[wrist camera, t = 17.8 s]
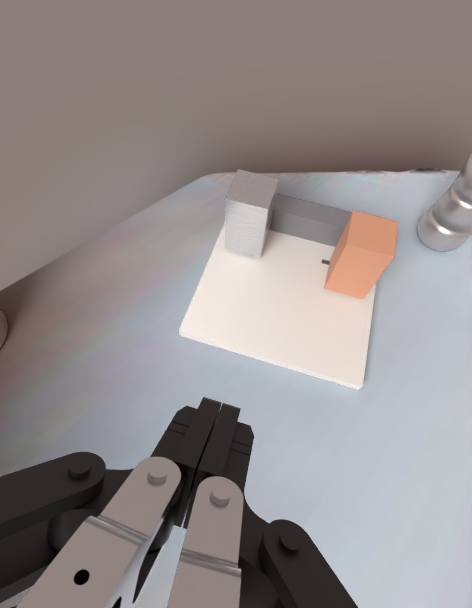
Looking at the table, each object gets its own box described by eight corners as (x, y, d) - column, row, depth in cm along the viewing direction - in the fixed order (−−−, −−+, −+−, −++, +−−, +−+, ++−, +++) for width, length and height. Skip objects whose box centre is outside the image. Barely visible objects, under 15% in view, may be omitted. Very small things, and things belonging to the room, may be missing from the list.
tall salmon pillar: (363, 299, 43) (394, 256, 35) (324, 288, 44) (346, 244, 36) (367, 268, 46) (398, 221, 38) (330, 258, 46) (352, 210, 38)
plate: (358, 389, 40) (376, 376, 35) (180, 335, 42) (174, 315, 37) (377, 245, 50) (394, 219, 45) (233, 209, 52) (234, 180, 48)
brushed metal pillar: (260, 257, 46) (268, 209, 38) (224, 248, 46) (225, 198, 38) (269, 230, 48) (279, 179, 40) (235, 221, 49) (238, 169, 41)
